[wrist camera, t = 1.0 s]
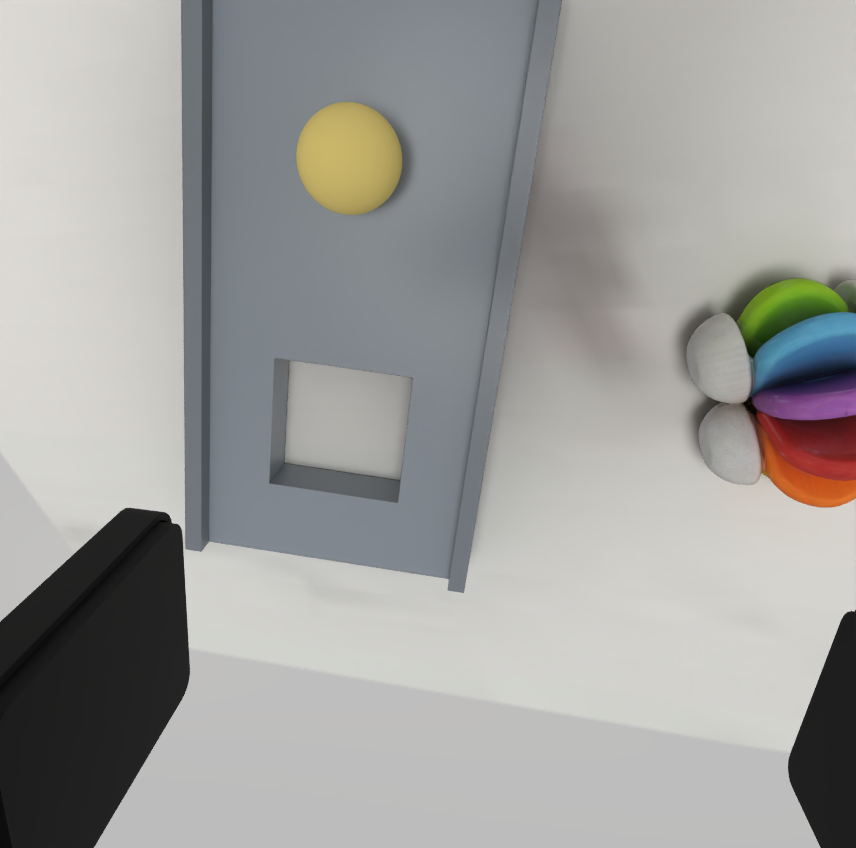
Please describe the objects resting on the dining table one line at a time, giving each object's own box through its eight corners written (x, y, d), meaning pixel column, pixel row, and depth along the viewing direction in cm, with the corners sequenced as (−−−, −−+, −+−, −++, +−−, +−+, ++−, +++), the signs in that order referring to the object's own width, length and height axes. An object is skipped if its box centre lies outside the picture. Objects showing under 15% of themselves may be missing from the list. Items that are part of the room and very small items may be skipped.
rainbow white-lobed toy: (698, 484, 34) (750, 561, 27) (671, 295, 31) (721, 329, 24) (880, 449, 32) (984, 522, 25) (870, 248, 29) (984, 269, 22)
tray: (217, -41, 28) (180, -70, 24) (557, -1, 27) (566, -26, 24) (213, 516, 37) (185, 549, 33) (466, 555, 36) (463, 592, 33)
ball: (314, 101, 27) (285, 89, 23) (413, 114, 27) (400, 103, 23) (308, 206, 28) (280, 210, 24) (402, 218, 28) (388, 224, 24)
